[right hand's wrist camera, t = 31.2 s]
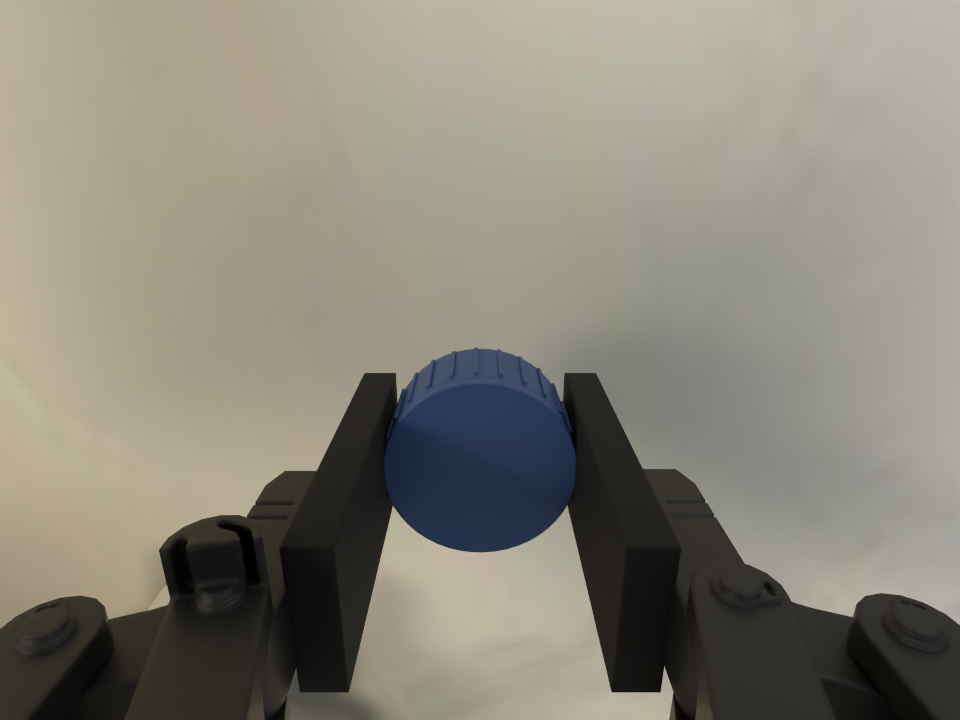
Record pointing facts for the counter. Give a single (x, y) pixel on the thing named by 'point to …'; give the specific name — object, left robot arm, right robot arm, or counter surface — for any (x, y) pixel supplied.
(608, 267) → the counter surface
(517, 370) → the cap
